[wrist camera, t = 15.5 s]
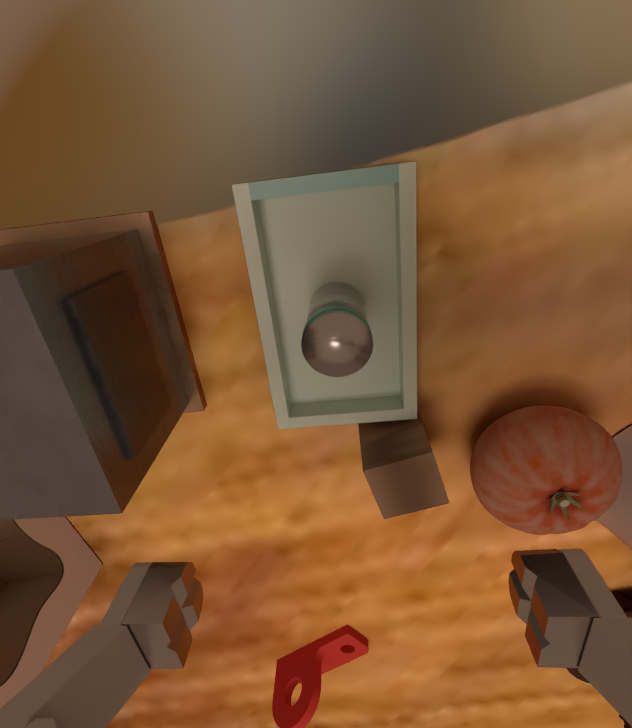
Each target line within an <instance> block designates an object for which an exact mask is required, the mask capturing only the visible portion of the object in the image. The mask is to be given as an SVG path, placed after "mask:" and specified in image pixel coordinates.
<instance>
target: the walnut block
mask: <svg viewBox="0 0 632 728" xmlns="http://www.w3.org/2000/svg"><path fill="white" fill-rule="evenodd" d="M358 425H359V435H360V445H361V455H362V465H363V472H364V474H365V476H366V479H367V481H368V483H369V486H370V488H371V490H372V493H373V495H374V497H375V499H376V502H377V504H378V506H379V509H380V511H381V513H382V516H383V518H384V519H387V518H391V517H395V516H399V515H403V514H407V513H411V512H415V511H419V510H423V509H428V508H432V507H436V506H440V505H444V504H448V503H449V500H448V497H447V494H446V491H445V488H444V485H443V482H442V479H441V476H440V473H439V470H438V467H437V464H436V461H435V458H434V455H433V452H432V449H431V446H430V443H429V440H428V437H427V435H426V432H425V429H424V426H423V423H422V420H421V417H420V415H419V412H418V409H417V419H409V420H395V421H382V422H368V423H358Z"/></svg>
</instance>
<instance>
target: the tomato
mask: <svg viewBox="0 0 632 728" xmlns="http://www.w3.org/2000/svg"><path fill="white" fill-rule="evenodd" d="M470 473H471V481H472V484H473V488H474V491H475V493H476V495H477V497H478V499H479V500H480V502H481V504H482V505H483V506H484V508H485V509H486V510H487V511H488V512H489V513H490V514H492V515H493V516H494V517H495V518H497V519H498V520H500V521H501V522H503V523H505V524H506V525H508V526H510V527H512V528H515V529H517V530H520V531H523V532H526V533H531V534H536V535H545V534H561V533H567V532H571V531H574V530H578V529H581V528H583V527H585V526H586V525H588V524H589V523H590V522H591V521H593V520H595V519H597V518H599V517H600V516H602V515H603V514H604V513H605V512H606V511H607V510H608V509H609V508H610V507H611V506H612V505H613V503H614V502H615V500H616V498H617V496H618V493H619V489H620V485H621V483H622V479H623V467H622V461H621V456H620V453H619V450H618V447H617V445H616V443H615V441H614V439H613V438H612V436H611V435H610V434H609V433H608V432H607V431H606V430H605V429H604V428H603V427H602V426H601V425H599V424H598V423H597V422H595V421H594V420H592V419H591V418H589V417H587V416H585V415H583V414H581V413H579V412H577V411H575V410H572V409H569V408H564V407H559V406H547V405H543V406H530V407H525V408H521V409H518V410H515V411H512V412H510V413H508V414H506V415H504V416H502V417H501V418H499V419H498V420H496V421H495V422H493V423H492V424H491V425H490V426H489V427H488V428H487V429H486V430H485V431H484V432H483V433H482V434H481V436H480V437H479V439H478V440H477V442H476V444H475V447H474V449H473V452H472V457H471V463H470Z"/></svg>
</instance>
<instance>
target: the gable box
mask: <svg viewBox="0 0 632 728" xmlns="http://www.w3.org/2000/svg"><path fill="white" fill-rule="evenodd" d="M101 567H102V563H101V562H100V560H99V559H98V558H97V556H96V555H95V554H94V553H93V551H92V550H91V549H90V548H89V546H88V545H87V544H86V543H85V541H84V540H83V539H82V538H81V536H80V535H79V534H78V533H77V531H76V530H75V529H74V528H73V526H72V525H71V524H70V523H69V521H68V520H67V519H66V518H65V517H48V518H31V519H14V520H0V708H1V707H2V706H3V705H5V704H6V703H7V702H8V701H9V700H10V699H11V698H13V697H14V696H15V695H16V694H17V693H18V692H19V691H21V690H22V689H23V688H24V687H25V686H26V685H27V684H29V683H30V682H31V681H32V680H33V679H34V678H35V677H37V676H38V675H39V674H40V673H41V671H42V669H43V668H44V666H45V664H46V662H47V661H48V659H49V657H50V655H51V654H52V652H53V650H54V649H55V647H56V645H57V643H58V642H59V640H60V638H61V636H62V635H63V633H64V631H65V629H66V628H67V626H68V624H69V623H70V621H71V619H72V617H73V616H74V614H75V612H76V610H77V609H78V607H79V605H80V603H81V602H82V600H83V598H84V597H85V595H86V593H87V591H88V590H89V588H90V586H91V584H92V583H93V581H94V579H95V577H96V576H97V574H98V572H99V571H100V569H101Z"/></svg>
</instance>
